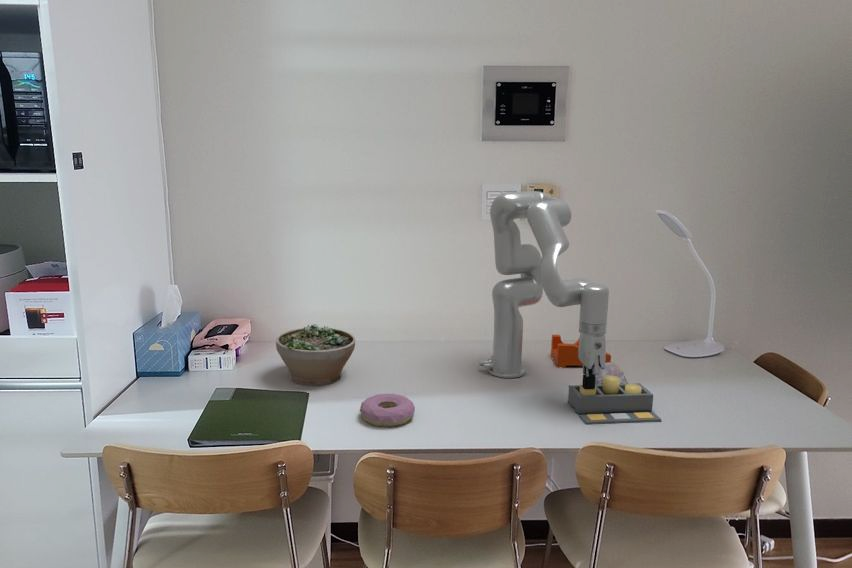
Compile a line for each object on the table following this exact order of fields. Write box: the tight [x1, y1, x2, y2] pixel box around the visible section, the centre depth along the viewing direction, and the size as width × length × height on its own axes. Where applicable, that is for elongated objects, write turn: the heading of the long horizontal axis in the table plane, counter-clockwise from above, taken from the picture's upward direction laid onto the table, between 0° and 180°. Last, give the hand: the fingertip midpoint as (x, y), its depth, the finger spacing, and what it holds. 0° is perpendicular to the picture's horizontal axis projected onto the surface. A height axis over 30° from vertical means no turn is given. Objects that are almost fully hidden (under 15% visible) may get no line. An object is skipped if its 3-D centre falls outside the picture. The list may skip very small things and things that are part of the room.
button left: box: [579, 386, 596, 396], centre depth 195 cm, size 5×5×5 cm
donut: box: [359, 393, 416, 428], centre depth 187 cm, size 16×15×5 cm
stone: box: [595, 362, 629, 385], centre depth 213 cm, size 17×10×10 cm
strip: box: [578, 411, 662, 425], centre depth 189 cm, size 22×5×1 cm, turn 97°
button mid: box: [602, 375, 620, 395], centre depth 195 cm, size 5×5×5 cm
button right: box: [625, 383, 642, 394], centre depth 196 cm, size 5×5×5 cm
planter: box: [275, 323, 356, 387], centre depth 216 cm, size 26×25×15 cm
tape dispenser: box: [550, 334, 612, 369], centre depth 235 cm, size 18×13×8 cm
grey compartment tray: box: [567, 383, 654, 416], centre depth 196 cm, size 22×9×6 cm, turn 97°
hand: (588, 388), depth 194 cm, fingers closed
